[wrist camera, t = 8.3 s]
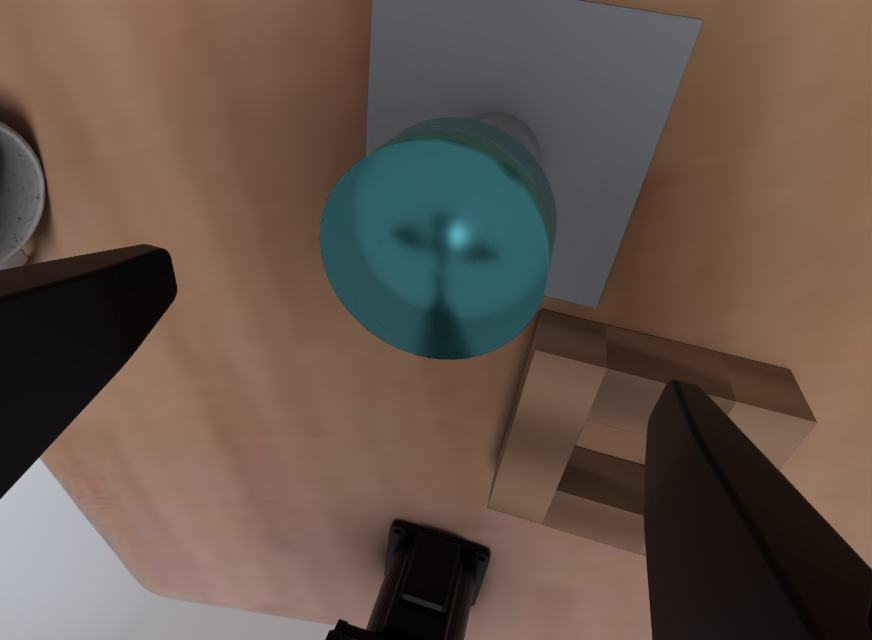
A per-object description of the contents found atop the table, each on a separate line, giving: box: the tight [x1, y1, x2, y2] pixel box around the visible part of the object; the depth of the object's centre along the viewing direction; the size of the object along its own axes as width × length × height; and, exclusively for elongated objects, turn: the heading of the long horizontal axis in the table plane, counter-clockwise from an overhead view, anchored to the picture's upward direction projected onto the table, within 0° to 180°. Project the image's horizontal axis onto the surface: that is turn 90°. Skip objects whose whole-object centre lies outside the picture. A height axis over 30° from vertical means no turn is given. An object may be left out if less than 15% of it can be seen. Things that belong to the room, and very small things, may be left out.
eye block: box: [487, 309, 817, 556], centre depth 22 cm, size 10×10×3 cm
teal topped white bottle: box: [320, 112, 557, 359], centre depth 15 cm, size 5×5×8 cm
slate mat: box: [365, 0, 703, 308], centre depth 18 cm, size 10×10×1 cm
